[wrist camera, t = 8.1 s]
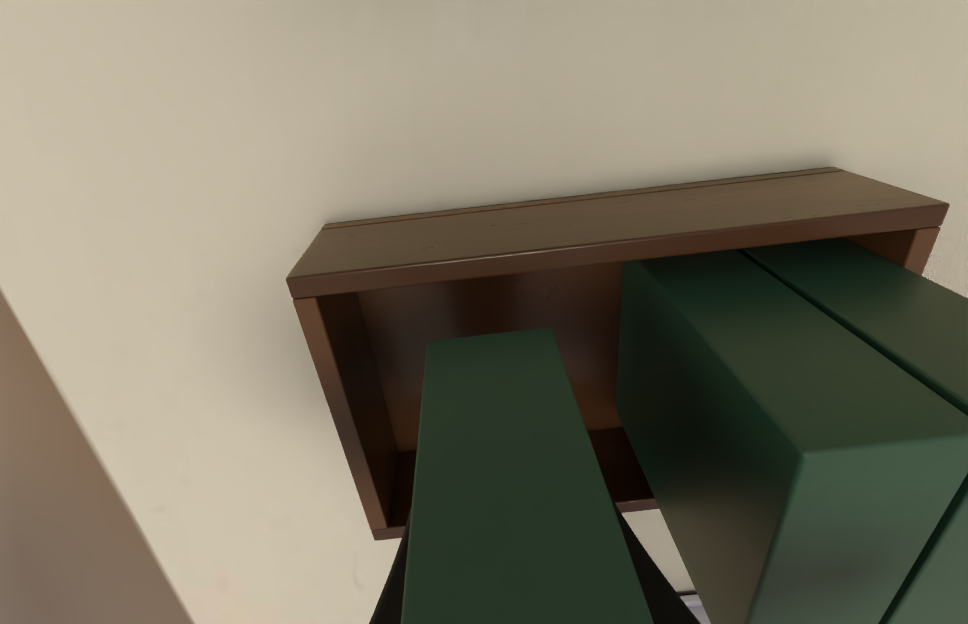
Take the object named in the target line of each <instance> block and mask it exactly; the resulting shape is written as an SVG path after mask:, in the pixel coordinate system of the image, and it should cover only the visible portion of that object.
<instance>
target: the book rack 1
mask: <svg viewBox="0 0 968 624" xmlns="http://www.w3.org/2000/svg"><path fill="white" fill-rule="evenodd" d="M948 208H949V204H948V203H946V202H943V201H940V200H936V199H933V198H930V197H927V196H924V195H921V194H917V193H914V192H911V191H908V190H905V189H902V188H898V187H895V186H892V185H889V184H886V183H883V182H879V181H876V180H873V179H870V178H867V177H864V176H860V175H857V174H854V173H851V172H848V171H844V170H842V169H839V168H836V167H831V168H822V169H813V170H804V171H796V172H787V173H778V174H769V175H760V176H751V177H742V178H733V179H724V180H715V181H707V182H698V183H689V184H680V185H671V186H662V187H653V188H644V189H635V190H627V191H618V192H609V193H600V194H591V195H582V196H573V197H564V198H555V199H547V200H538V201H529V202H520V203H511V204H502V205H493V206H484V207H475V208H467V209H458V210H449V211H440V212H431V213H422V214H413V215H404V216H395V217H387V218H378V219H369V220H360V221H351V222H342V223H333V224H325V225H324V226H323V228H322V229H321V231H320V232H319V233H318V235H317V236H316V237H315V239H314V240H313V242H312V243H311V244H310V246H309V247H308V249H307V250H306V251H305V253H304V254H303V255H302V257H301V258H300V260H299V261H298V262H297V264H296V265H295V266H294V268H293V269H292V271H291V272H290V273H289V275H288V276H287V277H286V282H287V284H288V287H289V290H290V293H291V296H292V298H294V299H293V303H294V306H295V309H296V312H297V315H298V318H299V321H300V324H301V326H302V329H303V332H304V335H305V338H306V341H307V344H308V347H309V350H310V353H311V356H312V359H313V362H314V365H315V368H316V370H317V373H318V376H319V379H320V382H321V385H322V388H323V391H324V394H325V397H326V400H327V403H328V406H329V409H330V412H331V414H332V417H333V420H334V423H335V426H336V429H337V432H338V435H339V438H340V441H341V444H342V447H343V450H344V453H345V456H346V458H347V461H348V464H349V467H350V470H351V473H352V476H353V479H354V482H355V485H356V488H357V491H358V494H359V497H360V500H361V502H362V505H363V508H364V511H365V514H366V517H367V520H368V523H369V526H370V529H371V531H372V534H373V537H374V540H376V541H377V540H386V539H395V538H402V536H403V533H404V530H405V527H406V523H407V519H408V516H409V512H410V510H411V509H412V498H413V487H414V477H415V466H416V455H417V444H418V433H419V423H420V412H421V401H422V390H423V380H424V369H425V358H426V347H427V342H428V341H434V340H443V339H452V338H461V337H470V336H479V335H488V334H497V333H506V332H515V331H524V330H533V329H541V328H552V330H553V333H554V336H555V339H556V342H557V345H558V348H559V351H560V354H561V356H562V359H563V362H564V365H565V368H566V371H567V374H568V377H569V380H570V382H571V385H572V388H573V391H574V394H575V397H576V400H577V403H578V406H579V409H580V411H581V414H582V417H583V420H584V423H585V426H586V429H587V432H588V435H589V437H590V440H591V443H592V446H593V449H594V452H595V455H596V458H597V461H598V464H599V466H600V469H601V472H602V475H603V478H604V481H605V484H606V487H607V490H608V492H609V494H610V495H611V497H612V499H613V501H614V502H615V504H616V506H617V507H618V509H619V511H620V512H621V513H625V512H634V511H643V510H651V509H660V508H659V506H658V504H657V502H656V499H655V497H654V495H653V493H652V490H651V488H650V486H649V484H648V482H647V479H646V477H645V475H644V473H643V470H642V468H641V466H640V464H639V461H638V459H637V457H636V455H635V452H634V450H633V448H632V446H631V443H630V441H629V439H628V437H627V434H626V432H625V430H624V428H623V425H622V423H621V421H620V419H619V416H618V414H617V412H616V410H615V402H616V383H617V365H618V346H619V328H620V309H621V291H622V272H623V262H625V261H634V260H643V259H652V258H660V257H669V256H678V255H687V254H696V253H705V252H714V251H723V250H731V249H740V248H749V247H758V246H767V245H776V244H785V243H794V242H803V241H811V240H820V239H829V238H838V237H843V238H845V239H847V240H849V241H851V242H853V243H855V244H857V245H859V246H861V247H863V248H865V249H867V250H869V251H871V252H874V253H876V254H878V255H880V256H882V257H884V258H886V259H888V260H890V261H892V262H894V263H896V264H898V265H900V266H902V267H904V268H906V269H908V270H910V271H912V272H914V273H916V274H918V275H922V273H923V270H924V268H925V265H926V263H927V261H928V258H929V256H930V253H931V251H932V248H933V246H934V243H935V241H936V238H937V236H938V233H939V231H940V227H938V226H941V225H942V223H943V220H944V218H945V216H946V213H947V211H948Z"/></svg>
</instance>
